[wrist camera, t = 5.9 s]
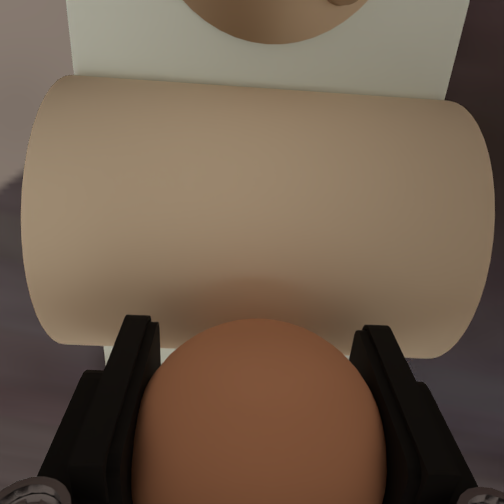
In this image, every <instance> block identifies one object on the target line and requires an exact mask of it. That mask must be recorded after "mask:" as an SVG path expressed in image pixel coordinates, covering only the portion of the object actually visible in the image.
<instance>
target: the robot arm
mask: <svg viewBox="0 0 504 504" xmlns="http://www.w3.org/2000/svg"><path fill="white" fill-rule="evenodd" d="M349 361H350V362H351V363H352V364H353V365H354V367H355V368H356V369H357V370H358V372H359V373H360V375H361V376H362V378H363V379H364V381H365V382H366V384H367V385H368V387H369V389H370V390H371V392H372V395H373V397H374V399H375V402H376V404H377V406H378V409H379V413H380V416H381V420H382V424H383V429H384V435H385V441H386V457H387V478H386V489H385V493H384V498H383V502H382V504H504V492H501V491H498V490H495V489H492V488H486V487H478V485H477V483H476V481H475V479H474V477H473V475H472V473H471V471H470V469H469V467H468V465H467V464H466V462H465V460H464V458H463V456H462V454H461V452H460V450H459V448H458V446H457V444H456V442H455V440H454V438H453V436H452V434H451V432H450V430H449V428H448V426H447V424H446V422H445V420H444V418H443V416H442V414H441V412H440V410H439V408H438V406H437V404H436V402H435V400H434V398H433V396H432V394H431V392H430V390H429V388H428V387H427V385H426V384H424V383H423V382H416V380H415V378H414V376H413V374H412V372H411V370H410V368H409V365H408V363H407V361H406V359H405V357H404V355H403V353H402V351H401V349H400V347H399V344H398V342H397V340H396V338H395V336H394V334H393V332H392V330H391V328H390V327H389V326H388V325H364V326H363V328H362V330H356V332H355V334H354V338H353V343H352V348H351V352H350V357H349ZM160 366H161V355H160V327H159V322H151V316H150V315H126V316H125V318H124V320H123V323H122V325H121V328H120V330H119V333H118V336H117V338H116V341H115V343H114V346H113V348H112V351H111V354H110V356H109V359H108V361H107V364H106V367H105V369H104V371H101V370H86V371H85V372H84V373H83V375H82V377H81V378H80V381H79V383H78V385H77V387H76V390H75V392H74V394H73V396H72V399H71V401H70V403H69V405H68V408H67V410H66V412H65V414H64V417H63V419H62V421H61V424H60V426H59V428H58V430H57V433H56V435H55V437H54V439H53V442H52V444H51V446H50V448H49V451H48V453H47V455H46V457H45V460H44V462H43V464H42V466H41V469H40V471H39V473H38V475H37V477H29V478H26V479H23V480H19V481H16V482H15V483H13V484H11V485H9V486H7V487H5V488H4V489H2V490H1V491H0V504H133V501H132V494H131V468H132V455H133V445H134V436H135V430H136V423H137V417H138V413H139V408H140V403H141V399H142V396H143V393H144V390H145V388H146V386H147V384H148V382H149V381H150V379H151V378H152V376H153V374H154V373H155V371H156V370H157V369H158V368H159V367H160Z"/></svg>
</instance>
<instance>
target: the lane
mask: <svg viewBox="0 0 504 504" xmlns="http://www.w3.org/2000/svg"><path fill="white" fill-rule="evenodd" d="M469 1H470V0H368V1H367V2H366V3H365V4H364V5H363V6H362V7H361V8H360V9H359V10H358V11H357V12H355V13H354V14H353V15H352V16H350V17H349V18H348V19H347V20H345V21H344V22H343V23H341V24H339V25H338V26H336V27H334V28H333V29H331V30H330V31H327V32H325V33H323V34H321V35H318V36H316V37H314V38H310V39H307V40H303V41H300V42H295V43H288V44H262V43H255V42H249V41H246V40H243V39H239V38H236V37H233V36H231V35H229V34H227V33H225V32H223V31H220V30H219V29H217V28H216V27H214V26H212V25H211V24H209V23H208V22H206V21H205V20H204V19H202V18H201V17H200V16H199V15H198V14H196V13H195V12H194V11H193V10H192V9H191V8H190V7H189V6H188V5H187V4H186V3H185V2H184V1H183V0H66V7H67V16H68V25H69V34H70V43H71V53H72V62H73V71H74V75H68V76H64V77H62V78H60V79H59V80H57V81H56V82H55V83H54V84H53V85H52V86H51V88H50V89H49V91H48V92H47V94H46V95H45V97H44V99H43V101H42V103H41V106H40V108H39V109H38V112H37V115H36V118H35V121H34V124H33V127H32V131H31V135H30V139H29V143H28V148H27V153H26V159H25V165H24V174H23V183H22V198H21V239H22V250H23V261H24V267H25V274H26V280H27V285H28V289H29V293H30V297H31V301H32V303H33V306H34V309H35V312H36V315H37V317H38V319H39V321H40V323H41V325H42V327H43V328H44V330H45V331H46V333H47V334H48V335H49V336H50V337H51V338H52V339H53V340H54V341H56V342H58V343H60V344H68V345H94V346H104V355H105V364H107V361H108V359H109V356H110V354H111V351H112V348H113V346H114V343H115V341H116V338H117V336H118V333H119V330H120V328H121V325H122V323H123V320H124V318H125V316H126V315H150V316H151V322H159V327H160V355H161V364H162V363H163V362H164V361H165V360H166V359H167V357H168V356H169V355H170V354H171V353H172V352H174V351H175V350H176V349H177V348H178V347H179V346H181V345H182V344H183V343H185V342H186V341H187V340H189V339H190V338H192V337H194V336H195V335H197V334H198V333H201V332H203V331H205V330H207V329H209V328H212V327H214V326H217V325H220V324H223V323H226V322H231V321H235V320H242V319H260V318H262V319H272V320H278V321H283V322H287V323H291V324H294V325H297V326H300V327H303V328H305V329H307V330H309V331H311V332H313V333H315V334H317V335H318V336H320V337H321V338H323V339H325V340H326V341H328V342H329V343H331V344H332V345H333V346H334V347H336V348H337V349H338V350H339V351H340V352H342V353H343V355H344V356H345V357H346V358H347V359H348V360H349V357H350V352H351V348H352V343H353V338H354V334H355V332H356V330H362V328H363V326H364V325H388V326H389V327H390V328H391V330H392V332H393V334H394V336H395V338H396V340H397V342H398V344H399V347H400V349H401V351H402V353H403V355H404V357H405V358H424V359H427V358H435V357H439V356H441V355H443V354H444V353H446V352H447V351H449V350H450V349H451V348H452V347H453V346H454V345H455V344H456V343H457V342H458V341H459V339H460V338H461V337H462V335H463V334H464V333H465V331H466V329H467V327H468V326H469V324H470V322H471V320H472V318H473V316H474V314H475V311H476V309H477V307H478V304H479V302H480V299H481V296H482V292H483V289H484V286H485V283H486V279H487V274H488V270H489V265H490V260H491V253H492V246H493V239H494V223H495V193H494V183H493V173H492V168H491V163H490V157H489V153H488V150H487V147H486V143H485V140H484V137H483V135H482V133H481V131H480V128H479V126H478V124H477V123H476V121H475V120H474V118H473V117H472V115H471V114H470V113H469V112H468V111H467V110H466V109H465V108H464V107H463V106H461V105H459V104H458V103H456V102H452V101H446V100H445V96H446V92H447V88H448V84H449V80H450V76H451V72H452V68H453V64H454V60H455V57H456V53H457V49H458V45H459V41H460V37H461V33H462V29H463V25H464V21H465V17H466V13H467V9H468V5H469Z"/></svg>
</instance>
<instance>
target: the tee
mask: <svg viewBox="0 0 504 504" xmlns="http://www.w3.org/2000/svg"><path fill="white" fill-rule="evenodd" d="M183 1H184V2H185V3H186V4H187V5H188V6H189V7H190V8H191V9H192V10H193V11H194V12H195V13H196V14H198V15H199V16H200V17H201V18H202V19H204V20H205V21H206V22H208V23H209V24H211V25H212V26H214V27H216V28H217V29H219V30H220V31H223V32H225V33H227V34H229V35H231V36H233V37H236V38H239V39H243V40H246V41H249V42H255V43H262V44H288V43H295V42H300V41H303V40H307V39H310V38H314V37H316V36H318V35H321V34H323V33H325V32H327V31H330V30H331V29H333V28H334V27H336V26H338V25H339V24H341V23H343V22H344V21H345V20H347V19H348V18H349V17H350V16H352V15H353V14H354V13H355V12H357V11H358V10H359V9H360V8H361V7H362V6H363V5H364V4H365V3H366V2H367V1H368V0H183Z"/></svg>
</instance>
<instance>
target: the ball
mask: <svg viewBox="0 0 504 504" xmlns="http://www.w3.org/2000/svg"><path fill="white" fill-rule="evenodd" d="M386 478H387V457H386V441H385V435H384V429H383V424H382V420H381V416H380V413H379V409H378V406H377V404H376V402H375V399H374V397H373V395H372V392H371V390H370V389H369V387H368V385H367V384H366V382H365V381H364V379H363V378H362V376H361V375H360V373H359V372H358V370H357V369H356V368H355V367H354V365H353V364H352V363H351V362H350V361H349V360H348V359H347V358H346V357H345V356H344V355H343V353H342V352H340V351H339V350H338V349H337V348H336V347H334V346H333V345H332V344H331V343H329V342H328V341H326V340H325V339H323V338H321V337H320V336H318V335H317V334H315V333H313V332H311V331H309V330H307V329H305V328H303V327H300V326H297V325H294V324H291V323H287V322H283V321H278V320H272V319H262V318H260V319H242V320H235V321H231V322H226V323H223V324H220V325H217V326H214V327H212V328H209V329H207V330H205V331H203V332H201V333H198V334H197V335H195V336H194V337H192V338H190V339H189V340H187V341H186V342H185V343H183V344H182V345H181V346H179V347H178V348H177V349H176V350H175V351H174V352H172V353H171V354H170V355H169V356H168V357H167V359H166V360H165V361H164V362H163V363H162V364H161V366H160V367H159V368H158V369H157V370H156V371H155V373H154V374H153V376H152V378H151V379H150V381H149V382H148V384H147V386H146V388H145V390H144V393H143V396H142V399H141V403H140V408H139V413H138V417H137V423H136V430H135V436H134V445H133V455H132V468H131V494H132V501H133V504H382V502H383V498H384V493H385V489H386Z"/></svg>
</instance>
